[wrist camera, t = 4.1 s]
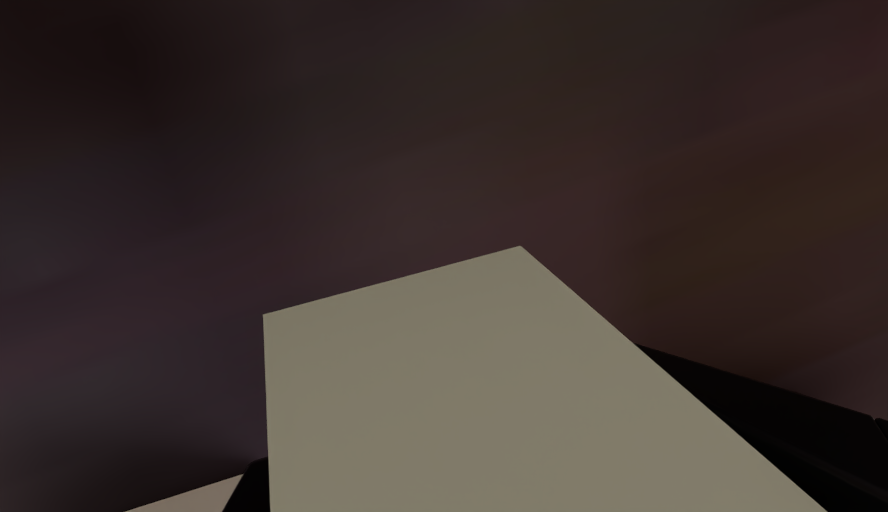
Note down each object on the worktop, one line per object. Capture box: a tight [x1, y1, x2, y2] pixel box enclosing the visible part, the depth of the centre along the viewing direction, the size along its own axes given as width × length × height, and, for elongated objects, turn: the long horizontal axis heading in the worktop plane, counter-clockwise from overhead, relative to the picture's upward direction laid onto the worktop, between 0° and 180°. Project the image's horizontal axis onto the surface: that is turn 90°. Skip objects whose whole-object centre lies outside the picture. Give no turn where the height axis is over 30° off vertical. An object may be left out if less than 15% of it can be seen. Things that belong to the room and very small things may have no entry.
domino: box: [263, 246, 827, 512], centre depth 8 cm, size 2×5×9 cm, turn 99°
